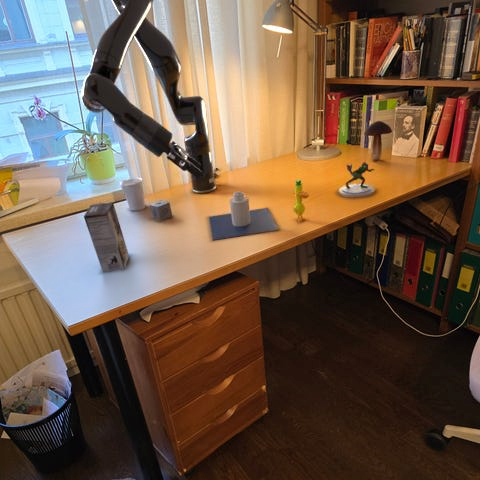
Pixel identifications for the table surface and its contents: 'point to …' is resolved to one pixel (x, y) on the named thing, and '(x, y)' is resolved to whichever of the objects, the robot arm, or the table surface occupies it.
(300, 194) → the toy figure
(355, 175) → the monster figurine
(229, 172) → the table surface
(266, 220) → the paper sheet
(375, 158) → the decorative mushroom
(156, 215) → the dice cube
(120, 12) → the robot arm
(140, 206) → the dixie cup
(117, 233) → the coffee box
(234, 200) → the white vase
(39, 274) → the table surface
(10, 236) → the table surface
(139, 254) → the table surface
